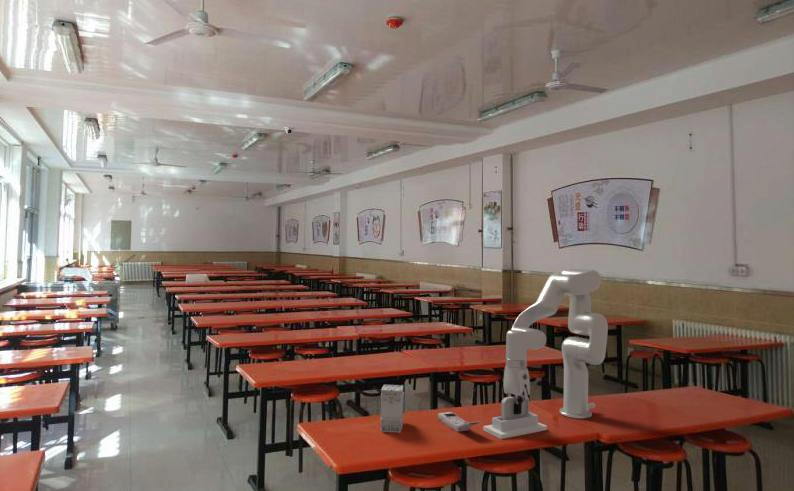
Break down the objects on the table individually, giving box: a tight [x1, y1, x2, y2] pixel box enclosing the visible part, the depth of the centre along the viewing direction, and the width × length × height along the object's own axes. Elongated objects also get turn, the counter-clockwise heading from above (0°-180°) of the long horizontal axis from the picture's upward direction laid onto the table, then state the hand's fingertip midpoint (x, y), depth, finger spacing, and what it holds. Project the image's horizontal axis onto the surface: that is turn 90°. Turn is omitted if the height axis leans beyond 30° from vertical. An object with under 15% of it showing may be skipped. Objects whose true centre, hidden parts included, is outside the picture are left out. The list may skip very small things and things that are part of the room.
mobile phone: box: [437, 411, 481, 432], centre depth 191 cm, size 6×6×25 cm
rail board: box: [482, 411, 548, 440], centre depth 188 cm, size 22×10×5 cm, turn 118°
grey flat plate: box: [500, 396, 530, 420], centre depth 188 cm, size 2×12×8 cm, turn 118°
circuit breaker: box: [379, 384, 405, 434], centre depth 191 cm, size 8×14×15 cm, turn 174°
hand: (515, 412), depth 188 cm, fingers closed on grey flat plate, 1 cm apart
